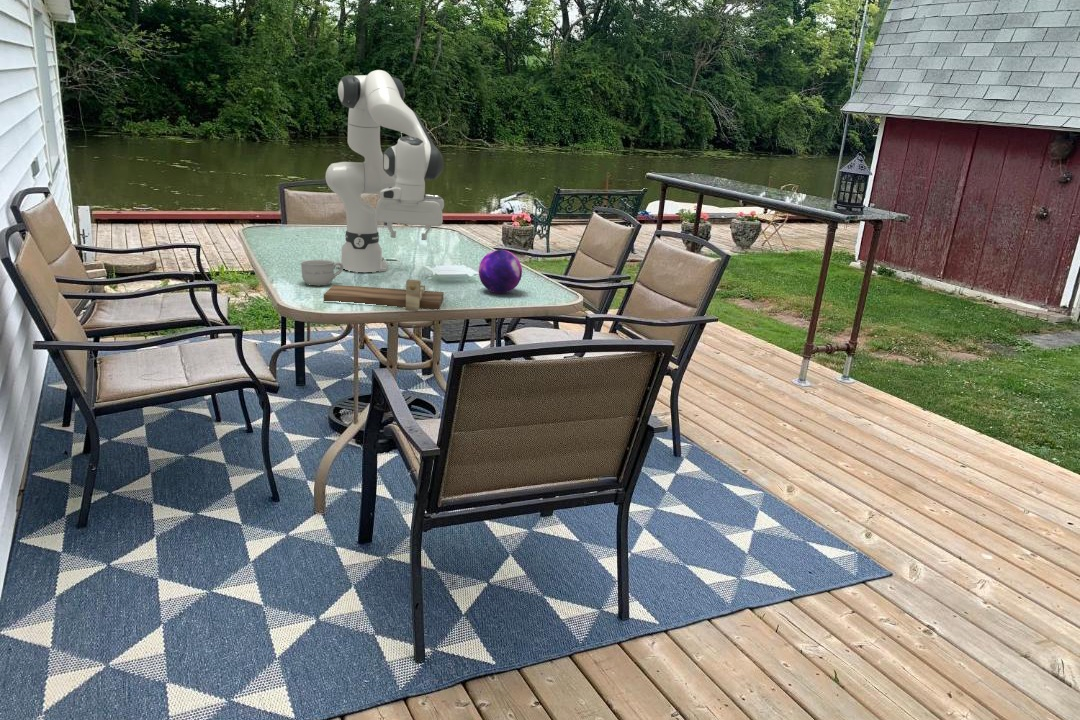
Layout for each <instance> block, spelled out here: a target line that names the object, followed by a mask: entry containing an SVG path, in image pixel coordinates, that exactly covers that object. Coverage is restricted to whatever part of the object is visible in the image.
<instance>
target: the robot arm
mask: <svg viewBox="0 0 1080 720" xmlns="http://www.w3.org/2000/svg"><path fill="white" fill-rule="evenodd" d="M337 94H338V98H339V102H340V103H341V105H342V106H344V108H348V116H347V145H348V146H349V148H350V149H351V151H353V152H355V153H357V154H358V155H361V156H362V157H364V161H363V162H358V161H357V162H355V161H339V162H334V163H333V162H332V163H330V165H329V166H328V167H327V169H326V170H325V176H324V177H325V182H326V185H327V186H328V188H329V189H330V190H331V191H332V192H333V193H335V194H336V195H337V196H338V198H339V199H340V200H341V202H342V203H343V206H344V209H345V217H346V231H345V236H344V237H345V243H344V244H342V246H341V250H340V251H341V252H340V263H342V264H343V269H345V270H350V271H357V272H356V273H358V272H372V273H377V272H376V271H379V272H388V271H387V270H388V264H387V263H388V262H387V260H385V258H384V257H383V256H382V255H383V253H382V252H383V249H382V247H381V246H380V244H379V243H380V239H379V238H380V234H379V231H378V226H379V225H378V223H386V227H387V229H388V230H389V233H390V235H389V236H390V238H391V239H392V238H393V239H394V238H396V237H397V231H395V230H394V229H393V228H392V226H393V224H402V225H414V226H415V225H416V226H425V230H426V231H425V233H424V232H423V233H421V238H420V239H421V241H427V239H428V233H429V232H430V230H431V229H432V227H440V226H442V224H443V219H444V218H443V210H444V207H445V200H444V198H443V197H441V196H440V195H439V194H435V195H433V194H427V193H426V191H425V190H426V182H425V181H427V180H428V181H434V180H436V179H437V178H439V176H440V175H441V174H442V172H443V171H444V157H443V155H442V153H441V151H440V150H439V149H438V147H437V146H436V145H435V144H434V142H433V140H432V139H431V136H430V134H429V133H428V131H427V129H426V127H425V126H424V123H423V122H422V120H421V117H419V115H418V114H417V112H416V111H413V110H412V109H411V108H410V107H409V106H408V105H407V104H406V103H405V102H404V100H405V87H404V84H403V82H402V81H401V80H400V79H399V78H397V77H392V76H391V74H389V73H388V72H387V71H385V70H381V69H376V70H372V71H370V72H369V73H368V74H365V75H364V74H362V75H361V74H360V75H354V74H348V75H344V76H343V77H341V78H340V80H339V83H338V87H337ZM381 127H383V128H386V129H388V130H393V131H396V132H399V133H403V134H405V136H401V137H399V138H398V140H397V143H396V144H395V145H392V146H389V147H388V148H386V150H384V152H383V151H382V148H381V147H382V146H381ZM406 135H407V136H406ZM365 194H366V195H379V197H380V198H379V199H378V200H377V203H376V206H375V207H374V206H373V205H371V204H370V203H367V202H365V201H363V200H362V196H361V195H365ZM337 267H339V268H338V269H340V265H336V268H337ZM345 270H344V271H345ZM350 271H349V272H350Z"/></svg>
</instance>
